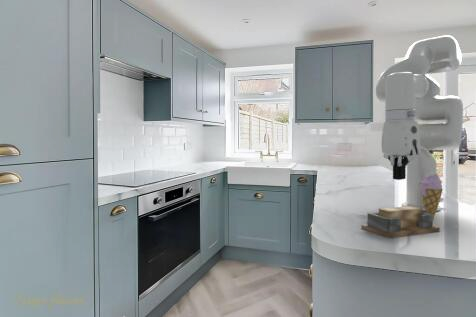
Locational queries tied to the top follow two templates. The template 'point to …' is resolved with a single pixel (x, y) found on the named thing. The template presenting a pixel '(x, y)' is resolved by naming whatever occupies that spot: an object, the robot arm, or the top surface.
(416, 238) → the top surface
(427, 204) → the ice cream cone
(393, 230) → the rail
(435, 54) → the robot arm
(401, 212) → the beige rectangular block
